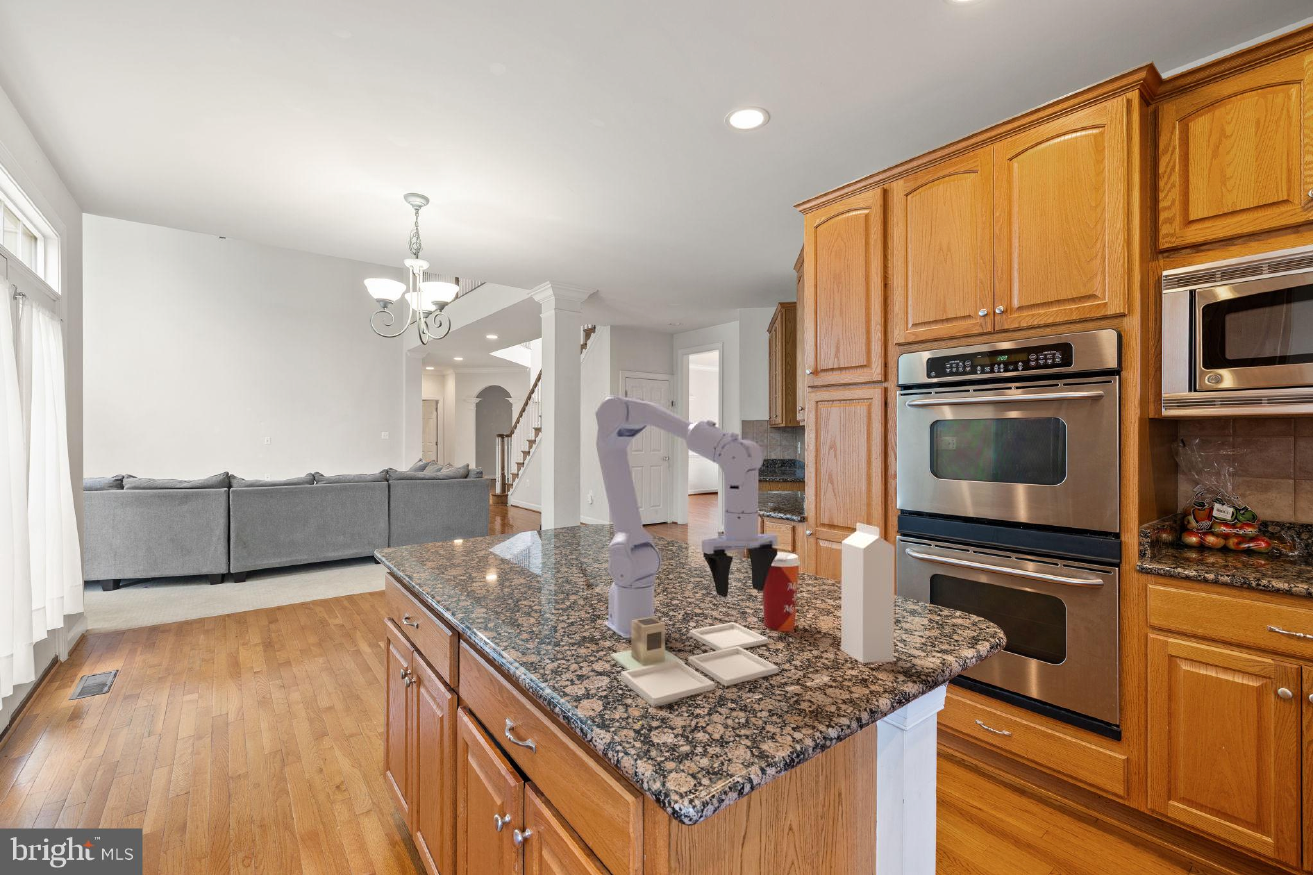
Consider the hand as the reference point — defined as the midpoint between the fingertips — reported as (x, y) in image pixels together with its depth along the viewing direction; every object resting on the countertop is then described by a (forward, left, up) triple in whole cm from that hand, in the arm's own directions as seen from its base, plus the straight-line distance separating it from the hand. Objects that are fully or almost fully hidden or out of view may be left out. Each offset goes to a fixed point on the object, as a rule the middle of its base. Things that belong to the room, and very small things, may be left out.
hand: (740, 592), depth 95 cm
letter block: (-5, -15, -10) cm, 19 cm away
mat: (-5, -15, -10) cm, 19 cm away
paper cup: (-7, +15, -11) cm, 20 cm away
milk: (+11, +18, -11) cm, 24 cm away
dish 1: (+4, -17, -10) cm, 20 cm away
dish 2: (-6, +2, -10) cm, 12 cm away
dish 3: (+4, -5, -10) cm, 12 cm away
